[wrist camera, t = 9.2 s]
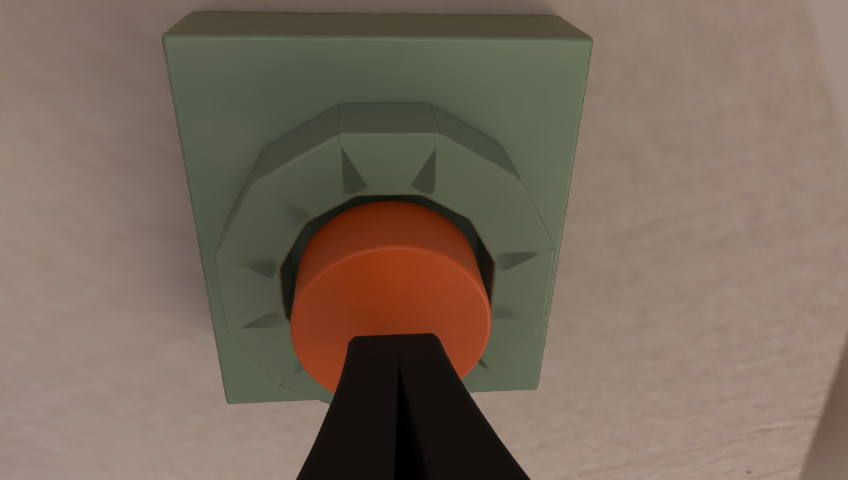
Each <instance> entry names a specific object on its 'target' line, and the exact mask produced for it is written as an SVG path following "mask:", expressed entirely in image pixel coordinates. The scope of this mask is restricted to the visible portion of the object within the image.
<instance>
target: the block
mask: <svg viewBox="0 0 848 480" xmlns="http://www.w3.org/2000/svg"><path fill="white" fill-rule="evenodd" d="M162 42H163V47H164V53H165V59H166V64H167V70H168V76H169V81H170V87H171V92H172V98H173V104H174V109H175V115H176V121H177V126H178V132H179V138H180V143H181V149H182V154H183V160H184V166H185V171H186V177H187V183H188V188H189V194H190V200H191V205H192V211H193V216H194V222H195V228H196V233H197V239H198V245H199V250H200V256H201V261H202V267H203V273H204V278H205V284H206V290H207V295H208V301H209V307H210V312H211V318H212V323H213V329H214V335H215V340H216V346H217V352H218V357H219V363H220V369H221V374H222V380H223V385H224V391H225V397H226V401H227V403H228V404H238V403H259V402H280V401H301V400H319V401H322V402H325V403H328V404H331V402H332V399H333V397H334V393H333V392H331V391H329V390H328V389H326V388H324V387H323V386H322V385H320V384H319V383H318V382H316V381H315V380H314V379H313V378H312V377H311V376H310V375H309V374H308V372H307V371H306V370H305V369H304V367H303V366H302V364H301V363H300V361H299V359H298V357H297V355H296V353H295V350H294V348H293V345H292V340H291V335H290V321H291V314H292V307H293V300H294V294H295V287H296V280H297V274H298V267H299V262H300V259H301V256H302V253H303V251H304V249H305V247H306V245H307V244H308V242H309V241H310V239H311V238H312V236H313V235H314V234H315V233H316V232H317V231H318V230H319V229H320V228H321V227H322V226H323V225H324V224H325V223H327V222H328V221H329V220H330V219H332V218H334V217H335V216H337V215H338V214H340V213H342V212H344V211H346V210H348V209H350V208H353V207H356V206H359V205H362V204H366V203H371V202H378V201H402V202H409V203H414V204H417V205H421V206H424V207H427V208H429V209H431V210H433V211H436V212H437V213H439V214H441V215H443V216H444V217H446V218H447V219H448V220H450V221H451V222H452V223H453V224H455V225H456V226H457V228H458V229H459V230H460V231H461V232H462V233H463V234H464V236H465V237H466V239H467V240H468V242H469V244H470V246H471V248H472V250H473V253H474V256H475V259H476V262H477V266H478V269H479V272H480V275H481V278H482V281H483V284H484V288H485V291H486V294H487V297H488V300H489V303H490V308H491V315H492V323H491V331H490V337H489V339H488V342H487V345H486V348H485V350H484V352H483V354H482V356H481V358H480V359H479V361H478V362H477V363H476V365H475V366H474V367H473V369H472V370H471V371H470V372H469V373H468V374H467V375H466V376H465V377H464V378H462V379H461V381H462V382H463V384H464V386H465V387H466V389H467V391H468V392H490V391H511V390H532V389H537V388H538V383H539V377H540V371H541V365H542V358H543V352H544V346H545V339H546V333H547V327H548V321H549V314H550V308H551V302H552V295H553V289H554V283H555V277H556V270H557V264H558V258H559V252H560V245H561V239H562V233H563V226H564V220H565V214H566V208H567V201H568V195H569V189H570V183H571V176H572V170H573V164H574V157H575V151H576V145H577V139H578V132H579V126H580V120H581V113H582V107H583V101H584V95H585V88H586V82H587V76H588V70H589V63H590V57H591V51H592V44H593V40H592V38H591V37H590V36H588V35H587V34H585V33H584V32H582V31H581V30H579V29H578V28H576V27H575V26H573V25H572V24H570V23H568V22H567V21H565V20H564V19H562V18H561V17H559V16H515V15H431V14H347V13H262V12H191V13H189V14H188V15H187V16H186V17H184V18H183V19H182V20H180V21H179V22H178V23H177V24H175V25H174V26H173V27H172V28H170V29H169V30H168V31H166V32H165V33H164V34H163V36H162Z"/></svg>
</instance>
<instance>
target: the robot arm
mask: <svg viewBox="0 0 848 480" xmlns="http://www.w3.org/2000/svg"><path fill="white" fill-rule="evenodd" d="M296 480H530V478H529V477H528V476H527V474H526V473H525V472H524V471H523V469H522V468H521V467H520V465H519V464H518V463H517V462H516V460H515V459H514V458H513V456H512V455H511V454H510V452H509V451H508V450H507V448H506V447H505V446H504V444H503V443H502V441H501V440H500V439H499V437H498V436H497V434H496V433H495V431H494V430H493V428H492V427H491V426H490V424H489V423H488V421H487V420H486V418H485V417H484V415H483V414H482V412H481V411H480V409H479V408H478V407H477V405H476V403H475V402H474V400H473V399H472V397H471V396H470V394H469V392H468V391H467V389H466V387H465V386H464V384H463V382H462V381H461V379H460V377H459V376H458V374H457V372H456V370H455V369H454V367H453V365H452V363H451V361H450V359H449V358H448V356H447V354H446V352H445V350H444V348H443V345H442V343H441V341H440V339H439V338H438V337H437V336H436V335H435V334H434V333H416V334H391V335H366V336H355V337H354V338H352V339H351V340H350V341H349V342H348V347H347V354H346V358H345V362H344V366H343V370H342V373H341V376H340V380H339V383H338V385H337V388H336V391H335V394H334V397H333V399H332V402H331V404H330V407H329V409H328V412H327V414H326V416H325V419H324V421H323V424H322V426H321V428H320V431H319V433H318V436H317V438H316V440H315V442H314V445H313V447H312V449H311V451H310V453H309V455H308V457H307V459H306V461H305V463H304V465H303V467H302V469H301V471H300V473H299V475H298V477H297V479H296Z"/></svg>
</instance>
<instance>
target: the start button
mask: <svg viewBox="0 0 848 480" xmlns="http://www.w3.org/2000/svg"><path fill="white" fill-rule="evenodd" d="M491 323H492V315H491V308H490V303H489V300H488V297H487V294H486V291H485V288H484V284H483V281H482V278H481V275H480V272H479V269H478V266H477V262H476V259H475V256H474V253H473V250H472V248H471V246H470V244H469V242H468V240H467V239H466V237H465V236H464V234H463V233H462V232H461V231H460V230H459V229H458V228H457V226H456V225H455V224H453V223H452V222H451V221H450V220H448V219H447V218H446V217H444V216H443V215H441V214H439V213H437V212H436V211H433V210H431V209H429V208H427V207H424V206H421V205H417V204H414V203H409V202H402V201H378V202H371V203H366V204H362V205H359V206H356V207H353V208H350V209H348V210H346V211H344V212H342V213H340V214H338V215H337V216H335V217H334V218H332V219H330V220H329V221H328V222H327V223H325V224H324V225H323V226H322V227H321V228H320V229H319V230H318V231H317V232H316V233H315V234H314V235H313V236H312V238H311V239H310V241H309V242H308V244H307V245H306V247H305V249H304V251H303V253H302V256H301V259H300V262H299V267H298V274H297V280H296V287H295V294H294V300H293V307H292V314H291V321H290V335H291V340H292V345H293V348H294V350H295V353H296V355H297V357H298V359H299V361H300V363H301V364H302V366H303V367H304V369H305V370H306V371H307V372H308V374H309V375H310V376H311V377H312V378H313V379H314V380H315V381H316V382H318V383H319V384H320V385H322V386H323V387H324V388H326V389H328V390H329V391H331V392H333V393H334V394H335V391H336V388H337V385H338V383H339V380H340V376H341V373H342V370H343V366H344V362H345V358H346V354H347V347H348V342H349V341H350V340H351V339H352V338H354V337H355V336H366V335H391V334H416V333H434V334H435V335H436V336H437V337H438V338H439V339H440V341H441V343H442V345H443V348H444V350H445V352H446V354H447V356H448V358H449V359H450V361H451V363H452V365H453V367H454V369H455V370H456V372H457V374H458V376H459V377H460V379H462V378H464V377H465V376H466V375H467V374H468V373H469V372H470V371H471V370H472V369H473V367H474V366H475V365H476V363H477V362H478V361H479V359H480V358H481V356H482V354H483V352H484V350H485V348H486V345H487V342H488V339H489V337H490V331H491Z"/></svg>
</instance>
